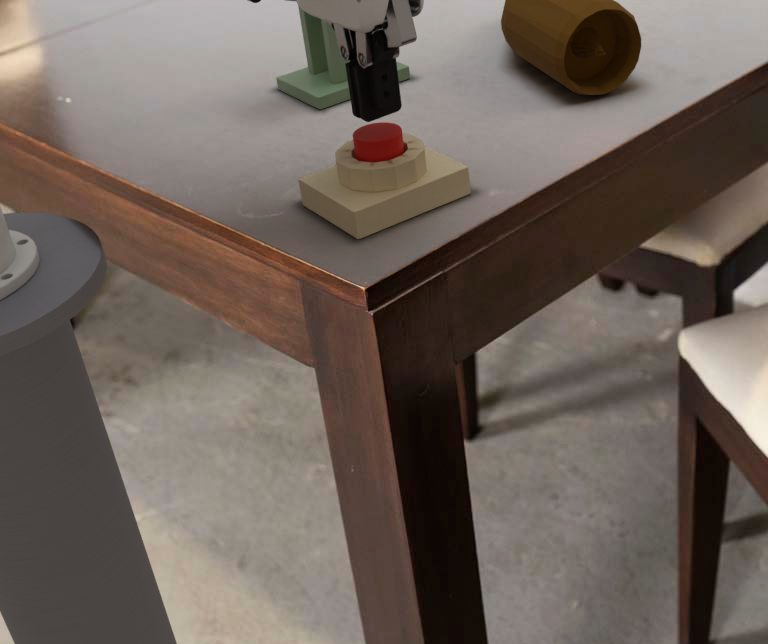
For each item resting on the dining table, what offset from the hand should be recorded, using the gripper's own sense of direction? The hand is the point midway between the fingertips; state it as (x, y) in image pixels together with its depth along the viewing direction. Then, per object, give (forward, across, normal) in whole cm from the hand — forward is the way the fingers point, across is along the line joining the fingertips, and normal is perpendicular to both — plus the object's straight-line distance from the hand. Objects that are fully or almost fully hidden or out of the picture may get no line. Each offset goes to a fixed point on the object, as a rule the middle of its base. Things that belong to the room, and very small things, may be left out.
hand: (377, 113), depth 79 cm
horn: (+7, -14, +28) cm, 32 cm away
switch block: (+7, 0, 0) cm, 7 cm away
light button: (+3, 0, 0) cm, 3 cm away
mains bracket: (+7, -24, +11) cm, 27 cm away
